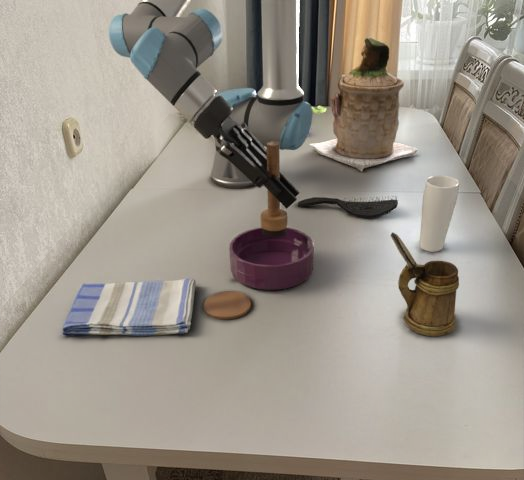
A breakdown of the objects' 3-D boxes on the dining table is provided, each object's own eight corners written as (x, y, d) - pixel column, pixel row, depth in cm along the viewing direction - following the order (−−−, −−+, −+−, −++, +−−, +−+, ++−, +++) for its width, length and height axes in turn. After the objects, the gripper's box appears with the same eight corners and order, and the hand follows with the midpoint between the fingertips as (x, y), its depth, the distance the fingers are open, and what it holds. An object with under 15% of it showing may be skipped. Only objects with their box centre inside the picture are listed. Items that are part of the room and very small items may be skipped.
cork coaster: (196, 302, 107) (196, 299, 107) (237, 288, 110) (237, 286, 110) (216, 325, 101) (216, 322, 100) (259, 310, 104) (259, 307, 104)
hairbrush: (301, 188, 142) (399, 191, 136) (301, 201, 145) (398, 205, 138) (293, 201, 136) (396, 205, 130) (294, 215, 138) (395, 220, 132)
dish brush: (256, 230, 114) (253, 142, 103) (278, 224, 116) (278, 137, 105) (269, 240, 110) (267, 150, 99) (292, 233, 112) (292, 144, 101)
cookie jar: (420, 154, 167) (438, 35, 147) (360, 173, 157) (370, 47, 137) (364, 135, 183) (374, 25, 164) (306, 150, 173) (309, 35, 153)
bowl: (217, 264, 118) (215, 239, 115) (285, 244, 125) (285, 219, 121) (256, 301, 106) (254, 275, 103) (329, 277, 113) (330, 251, 109)
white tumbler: (447, 242, 123) (461, 177, 114) (445, 256, 118) (458, 189, 109) (417, 238, 125) (427, 173, 116) (413, 252, 120) (424, 185, 111)
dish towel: (191, 336, 98) (189, 323, 96) (60, 339, 99) (56, 327, 97) (199, 285, 112) (198, 273, 110) (84, 288, 112) (81, 276, 110)
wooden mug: (375, 308, 103) (386, 220, 92) (448, 308, 103) (467, 219, 92) (382, 337, 96) (395, 245, 85) (460, 336, 96) (483, 244, 85)
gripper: (205, 111, 109) (287, 197, 116) (179, 136, 97) (272, 229, 104) (229, 83, 105) (312, 173, 112) (205, 105, 93) (300, 204, 100)
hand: (293, 200), depth 108 cm, fingers closed on dish brush, 2 cm apart
